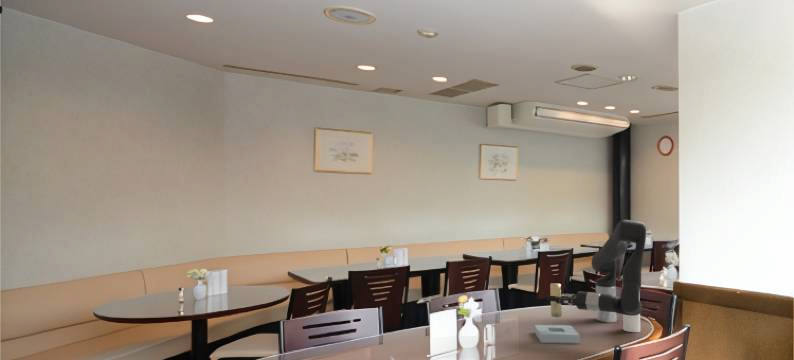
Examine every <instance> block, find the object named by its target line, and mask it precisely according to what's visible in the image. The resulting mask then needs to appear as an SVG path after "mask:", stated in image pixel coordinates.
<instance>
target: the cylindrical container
mask: <svg viewBox="0 0 794 360" xmlns="http://www.w3.org/2000/svg"><path fill="white" fill-rule="evenodd" d="M622 276H623V274H622V275H621V277H622ZM621 286H622V287H623V285H621ZM622 287H621V288H622ZM640 293H641V292H639V301H640V298H641V296H640V295H641V294H640ZM640 302H641V301H640ZM622 325H623V326H622V328H623V331H626V332H629V333H640V332H641V313H640V314H638V315H636V316H630V315H624V314H622Z"/></svg>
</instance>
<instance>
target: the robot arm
mask: <svg viewBox="0 0 794 360" xmlns="http://www.w3.org/2000/svg"><path fill="white" fill-rule="evenodd" d="M646 237H647V227H646V223H644V222H643V221H637V220H629V219H622V220H620V221H619V222H618V223H617V225H616V227H615V228H614V231H613V232H612V234H611V236H610V237H609V238H608V239H607V240H606V241H605V243H604V244H603V245H602V247H601V248H600V249H599V250H598V251H597V252H595V253H594V254H593V256H592V258H591V267H592V269H593V270H594V271H595V272H598V273H606V274H605V275H604V276H602V277H599V278H596V280H595V292H593V291H592V292H591V291H590V292H589V291H577V293H561V296H551V295H547V296H546V300H547V302H551V301H555V302H556V303H559V304H561V305H565V306H568V305H570V306H573V305H574V304H575V305H576V308H577V309H578V310H582V311H583V310H584V311H593V312H596V315H595V316H596V321H599V322H602V323H616V322H617V318H618V317H617V314H621V315H623V314H624V315H630V316H636V315H638V314H640V315H641V313H642V312H643V304H642V303H641V301H639V293H640V291H641V289H642V267H643V266H642V265H643V261H644V253H645V246H646ZM628 243H633V244H635V249H634V250H633V251H634V252H632V255H631V256H630V257H629V258H628V260H627V261H626V263H625V264H624V266H623V268H622V275H623V276H622V275H621V281H622V283H621V284H622V285H623V287H621V291H620V292H621V293H620V297H618V296H617V285H616V284H617V260H619V259H621V258H622V257H623V256H624V255H625V254H626V252H627V250H628ZM622 285H621V286H622ZM559 299H560V301H559Z"/></svg>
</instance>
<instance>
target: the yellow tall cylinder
mask: <svg viewBox="0 0 794 360" xmlns="http://www.w3.org/2000/svg"><path fill="white" fill-rule="evenodd" d="M549 287H550V289H549V290H550V296H561V294H562V284H561V283H557V282H555V283H554V282H553V283H550V284H549ZM559 301H560V299H559ZM562 316H563V315H562V304H559V303H556V302H555V301H550V317H552V318H562Z"/></svg>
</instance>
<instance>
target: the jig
mask: <svg viewBox="0 0 794 360" xmlns="http://www.w3.org/2000/svg"><path fill="white" fill-rule="evenodd" d="M534 334H535V336H536V337H537V338H538V341H539V343H545V344H548V343H549V344H580V343H581V335H580V334H579V332H578V331H577V330H575V328H574V327H573V326H572V325H568V324H567V325H566V324H565V325H559V324H558V325H557V324H554V325H553V324H534Z"/></svg>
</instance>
